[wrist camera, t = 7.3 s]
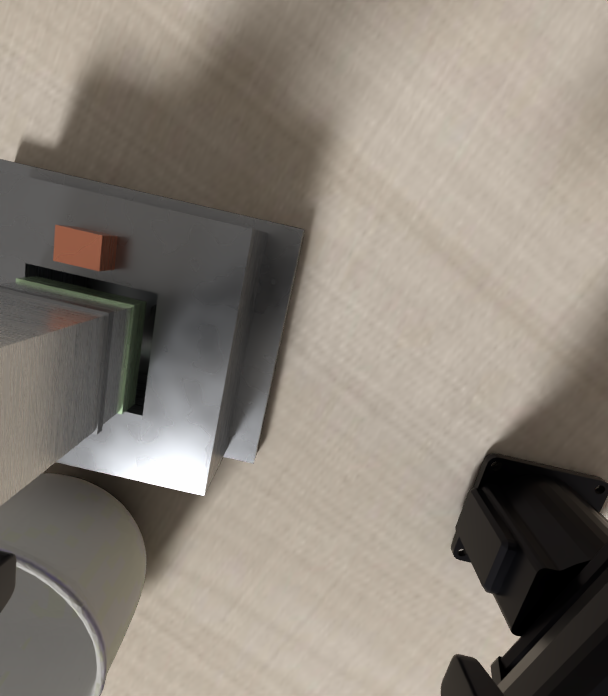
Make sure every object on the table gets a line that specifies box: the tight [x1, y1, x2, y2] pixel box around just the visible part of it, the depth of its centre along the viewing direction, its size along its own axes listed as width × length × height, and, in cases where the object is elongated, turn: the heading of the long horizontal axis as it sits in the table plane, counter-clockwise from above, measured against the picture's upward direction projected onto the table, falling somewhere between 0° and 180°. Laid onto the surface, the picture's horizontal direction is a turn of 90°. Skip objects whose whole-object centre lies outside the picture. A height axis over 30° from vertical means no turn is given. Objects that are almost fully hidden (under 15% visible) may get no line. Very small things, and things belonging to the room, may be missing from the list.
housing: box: [0, 159, 305, 496], centre depth 17 cm, size 14×12×6 cm
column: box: [0, 276, 147, 506], centre depth 12 cm, size 4×4×7 cm
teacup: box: [0, 473, 146, 696], centre depth 20 cm, size 14×11×8 cm
